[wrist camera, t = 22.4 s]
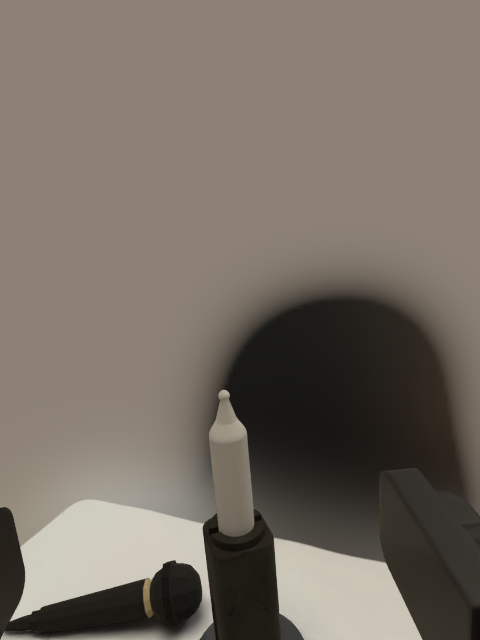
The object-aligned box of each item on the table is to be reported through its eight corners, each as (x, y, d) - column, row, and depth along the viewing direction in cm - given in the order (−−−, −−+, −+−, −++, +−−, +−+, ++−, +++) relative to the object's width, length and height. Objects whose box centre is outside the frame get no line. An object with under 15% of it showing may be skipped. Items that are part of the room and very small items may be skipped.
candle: (213, 641, 42) (183, 385, 36) (265, 623, 43) (244, 374, 37) (229, 695, 37) (197, 410, 31) (287, 672, 38) (267, 395, 33)
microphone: (7, 672, 44) (209, 631, 44) (-21, 645, 41) (195, 600, 41) (24, 613, 49) (207, 575, 49) (0, 584, 46) (194, 543, 46)
